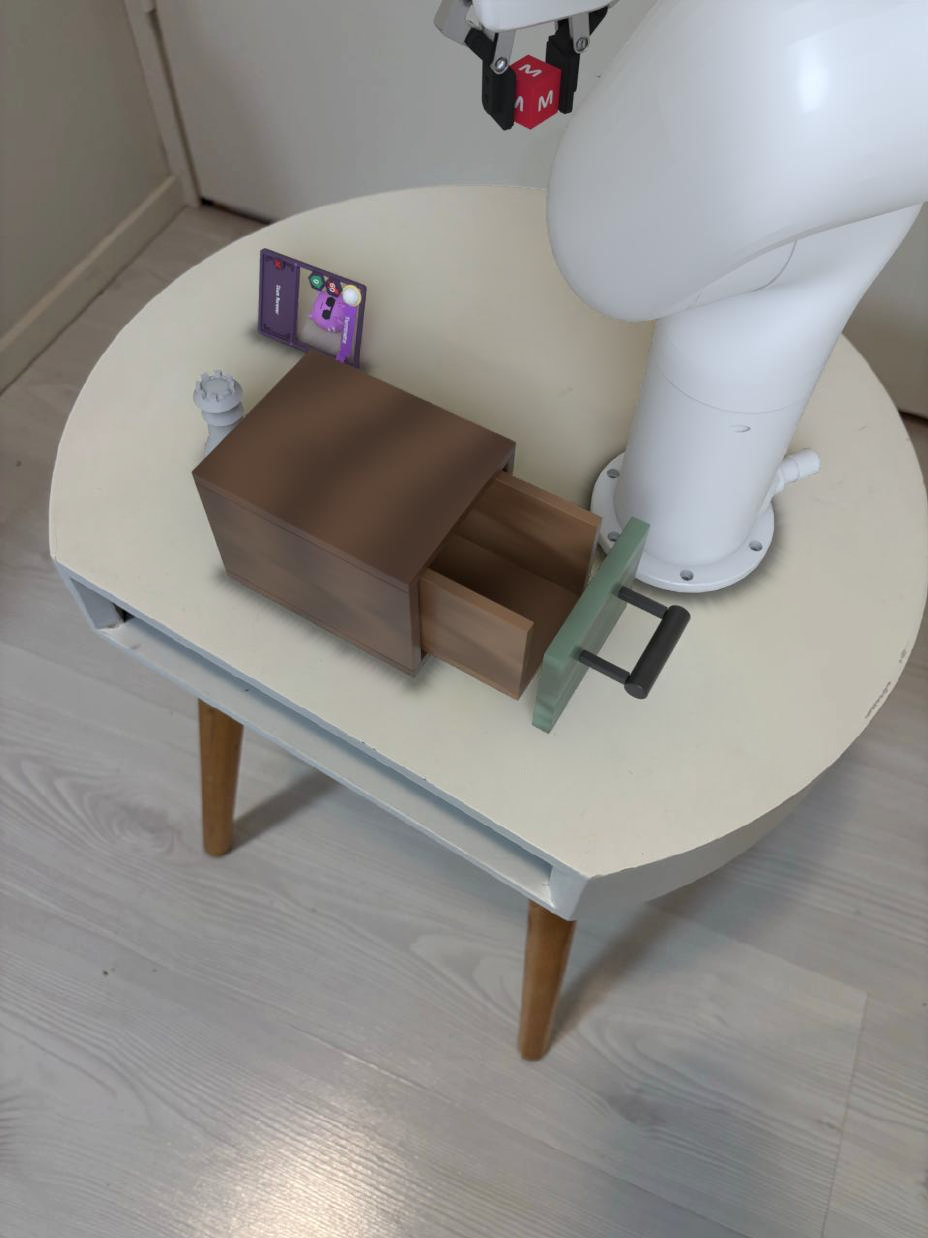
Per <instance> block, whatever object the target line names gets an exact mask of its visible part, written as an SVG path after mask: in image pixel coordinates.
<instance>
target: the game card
mask: <svg viewBox="0 0 928 1238" xmlns="http://www.w3.org/2000/svg"><path fill="white" fill-rule="evenodd" d="M301 269H303V270H307V271H309V272H311V273H310V274H309V276H308V277H307V279H308V282H309V284H310V288H311V289H313V290H314V291H316V294H317V296H316V297H315V300H314V301H313V304H312V312H311V313H308V314H307V315H306V317H308V318H309V319H311V320H313V321H314V323H316V325H317V326H318V327H319V328H320V329H322V330H323V331H325V332H327V333H331V334H332V333H340V332H341V337H340V338H341V339H340V345H339V351H338V352H337V354H336V355H334V354H331V353H329V352H326V351H324V350H321V349H318V348H316V347H313V346H311V345H308V344H306V343H304V342H301V341H298V340H297V332H298V331H297V330H298V314H299V299H300V298H299V297H300V283H301V281H300V280H301ZM258 273H259V274H258V275H259V277H258V308H257V311H258V312H257V332H258V333H259V334H260V335H262V336H265V337H267V338H270V339H272V340H275V341H278V342H280V343H282V344H285V345H287V346H291V347H292V348H295V349H298V350H300V351H303V352H306V353H307V352H308V351H309V350H310V349H311V348H312V349H314V350H317V351H319V352H321V353H323V354H325V355H328V356H330V357H332V358H334V359H336V360H338V361H341V362H343V363H345V364H347V365H349V366H352V367H354V368H356V369H358V370H359V366H360V359H361V350H362V349H361V348H362V340H363V339H362V338H363V329H364V322H365V321H364V320H365V311H366V303H367V301H366V300H367V292H368V287H367V285H365V284H363V283H361V282H359V281H355V280H353V279H350V278H347V277H344V276H343V275H339V274H336V273H334V272H331V271H329V270H326V269H323V268H320V267H318V266H316V265H312V264H310V263H307V262H304V261H302V260H299V259H296V258H293V257H290V256H288V255H286V254H283V253H280V252H277V251H276V250H272V249H270V248H266V247H263V248H261V249H260V251H259V272H258ZM325 278H327V279H325ZM341 283H342V284H344V285H345V286H344V287H342V284H341ZM324 288H325V290H324ZM357 309H358V311H357ZM356 315H357V319H356ZM355 324H356V328H355ZM355 329H356V330H355ZM354 332H355V340H354V349H353V358H352V359H353V360H352V362H351V361H349V360H346V358H349V359H351V354H352V348H353V347H352V346H353V339H354Z"/></svg>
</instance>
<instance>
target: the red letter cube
mask: <svg viewBox="0 0 928 1238" xmlns="http://www.w3.org/2000/svg"><path fill="white" fill-rule="evenodd" d="M509 66H510V67H511V68H512V69H513V70H514V71H515V73H516V92H515V113H514V123H515V124H518V125H520V126H522V127H524V128H526V129H528V130H530V131H531V130H533V129H535V128H536V127H538V126H539V125H541V124H542V123H544V122H545V121H547V120H548V119H550V118H552V117H553V116H555V115H556V114H558V113H559V110H558V103H559V91H560V79H561V69H559V68H556V67H554V66H552V65H550V64H548V63H546V62H545V60H544V61H543V60H542V59H540V58H537V57H535V56H532V55H531V54H526V55H525V56H523V57H521V58H520V59H517V61H514V62H513V63H511V64H509Z"/></svg>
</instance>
